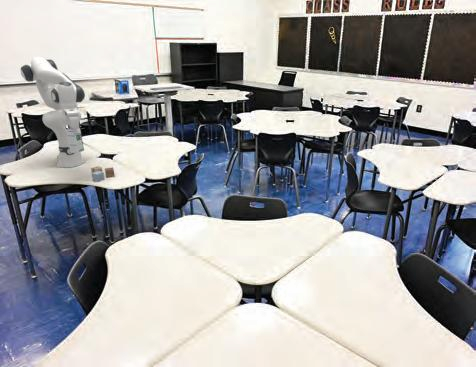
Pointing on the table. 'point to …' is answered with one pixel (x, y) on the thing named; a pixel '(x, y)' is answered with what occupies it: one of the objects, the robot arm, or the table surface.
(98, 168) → the maple cube
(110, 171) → the walnut cube
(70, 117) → the robot arm
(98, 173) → the slate blue cube
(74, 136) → the syrup box
